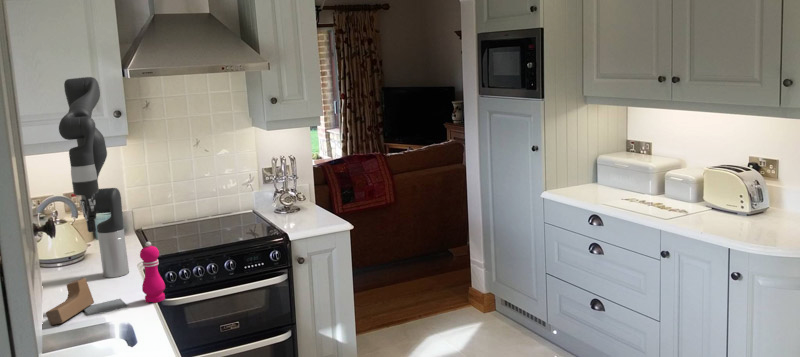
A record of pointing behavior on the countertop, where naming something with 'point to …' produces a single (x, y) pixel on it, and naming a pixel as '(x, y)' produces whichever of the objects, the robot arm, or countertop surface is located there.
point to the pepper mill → (152, 275)
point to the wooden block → (71, 302)
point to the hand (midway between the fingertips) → (91, 231)
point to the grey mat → (104, 306)
